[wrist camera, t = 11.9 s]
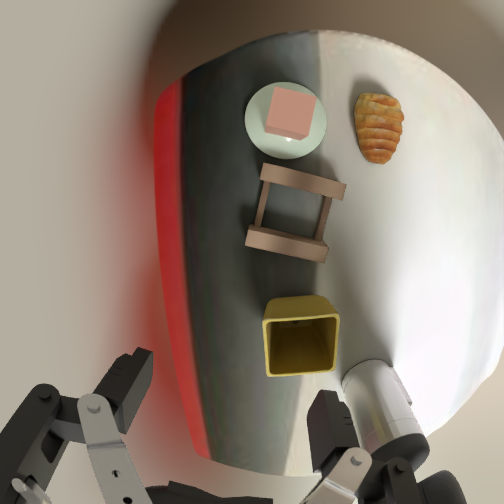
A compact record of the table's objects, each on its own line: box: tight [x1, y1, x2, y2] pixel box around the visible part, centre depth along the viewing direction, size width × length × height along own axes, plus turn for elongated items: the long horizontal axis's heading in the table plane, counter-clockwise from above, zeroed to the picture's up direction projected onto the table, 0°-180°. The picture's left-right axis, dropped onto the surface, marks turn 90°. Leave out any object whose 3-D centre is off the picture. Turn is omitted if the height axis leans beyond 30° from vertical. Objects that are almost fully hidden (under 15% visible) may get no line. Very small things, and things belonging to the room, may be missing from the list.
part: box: [265, 86, 317, 141], centre depth 29 cm, size 4×4×6 cm
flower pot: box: [262, 295, 340, 376], centre depth 36 cm, size 9×9×9 cm
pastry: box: [354, 93, 404, 164], centre depth 31 cm, size 9×7×4 cm
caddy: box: [245, 163, 346, 263], centre depth 34 cm, size 10×10×3 cm
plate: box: [245, 82, 327, 159], centre depth 32 cm, size 10×10×1 cm
